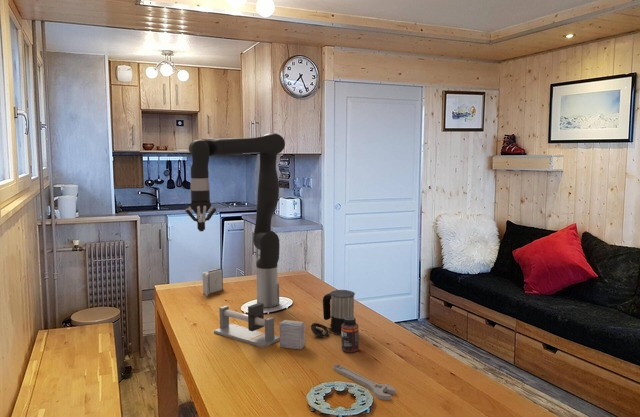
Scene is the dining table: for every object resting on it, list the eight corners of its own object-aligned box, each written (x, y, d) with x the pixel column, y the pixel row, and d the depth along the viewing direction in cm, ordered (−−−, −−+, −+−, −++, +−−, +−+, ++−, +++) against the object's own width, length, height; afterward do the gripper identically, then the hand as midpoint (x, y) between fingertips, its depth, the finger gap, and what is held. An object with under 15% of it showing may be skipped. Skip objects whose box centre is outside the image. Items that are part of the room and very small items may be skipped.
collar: (248, 330, 183) (247, 306, 182) (259, 325, 188) (259, 302, 187) (252, 331, 182) (252, 307, 181) (263, 326, 187) (263, 303, 186)
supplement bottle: (358, 346, 178) (359, 315, 177) (358, 353, 173) (358, 321, 171) (341, 346, 179) (341, 314, 178) (340, 352, 173) (340, 320, 172)
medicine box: (305, 345, 180) (305, 321, 179) (300, 350, 176) (300, 325, 175) (284, 342, 182) (284, 319, 181) (279, 347, 178) (279, 323, 177)
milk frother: (358, 328, 196) (358, 291, 194) (342, 343, 182) (342, 302, 180) (324, 323, 202) (324, 286, 201) (306, 336, 188) (306, 297, 186)
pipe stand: (213, 332, 192) (213, 309, 191) (231, 325, 200) (230, 303, 198) (263, 347, 178) (263, 322, 177) (280, 339, 185) (279, 315, 184)
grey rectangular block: (206, 296, 239) (205, 275, 238) (197, 295, 242) (196, 274, 240) (224, 289, 252) (223, 269, 250) (215, 287, 254) (214, 268, 253)
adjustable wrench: (331, 370, 161) (331, 365, 161) (347, 365, 164) (347, 360, 164) (383, 402, 140) (383, 396, 140) (400, 396, 144) (400, 390, 143)
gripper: (185, 190, 203) (186, 233, 205) (218, 189, 208) (219, 231, 210) (182, 189, 209) (183, 230, 211) (214, 188, 215) (215, 228, 217)
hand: (201, 231), depth 211 cm, fingers closed
